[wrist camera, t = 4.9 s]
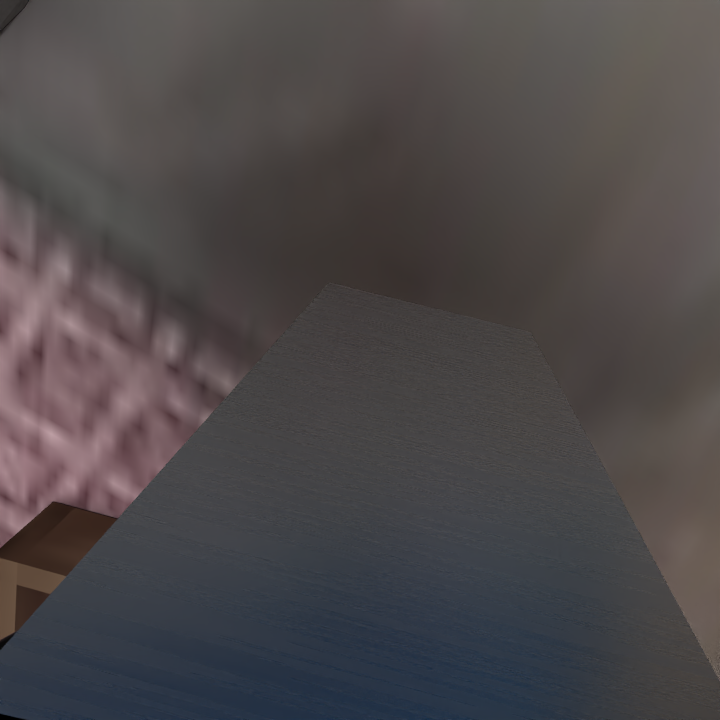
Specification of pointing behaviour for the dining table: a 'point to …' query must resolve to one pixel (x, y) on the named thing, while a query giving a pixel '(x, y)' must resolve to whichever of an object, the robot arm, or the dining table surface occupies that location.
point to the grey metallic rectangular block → (371, 551)
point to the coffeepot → (10, 10)
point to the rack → (43, 559)
